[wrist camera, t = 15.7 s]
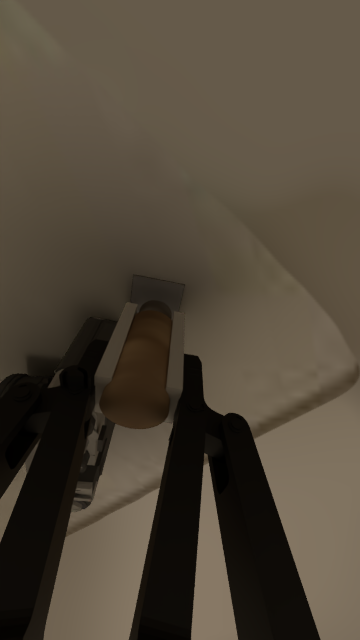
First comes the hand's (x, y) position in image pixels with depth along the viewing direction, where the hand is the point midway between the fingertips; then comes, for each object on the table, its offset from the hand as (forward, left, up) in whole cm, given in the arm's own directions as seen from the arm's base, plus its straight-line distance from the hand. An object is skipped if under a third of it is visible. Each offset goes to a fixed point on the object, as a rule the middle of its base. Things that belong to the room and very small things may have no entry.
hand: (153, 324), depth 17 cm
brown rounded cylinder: (0, 0, -1) cm, 1 cm away
